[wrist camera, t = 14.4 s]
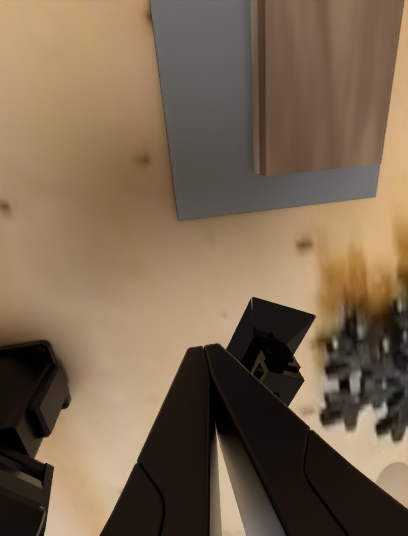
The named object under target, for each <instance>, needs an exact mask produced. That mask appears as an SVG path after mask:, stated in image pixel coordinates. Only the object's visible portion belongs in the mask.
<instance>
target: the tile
mask: <svg viewBox="0 0 408 536" xmlns="http://www.w3.org/2000/svg"><path fill="white" fill-rule="evenodd" d="M250 3H251V54H252V105H253V156H254V173H255V174H260V175H264V176H270V175H280V174H289V173H298V172H308V171H317V170H327V169H336V168H346V167H355V166H365V165H374V164H381V160H382V153H383V146H384V139H385V132H386V125H387V118H388V111H389V104H390V97H391V90H392V83H393V76H394V69H395V62H396V55H397V48H398V41H399V34H400V27H401V20H402V13H403V6H404V0H250Z"/></svg>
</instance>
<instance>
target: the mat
mask: <svg viewBox="0 0 408 536" xmlns="http://www.w3.org/2000/svg"><path fill="white" fill-rule="evenodd" d="M150 6H151V13H152V21H153V29H154V36H155V44H156V52H157V60H158V67H159V75H160V83H161V90H162V98H163V106H164V113H165V121H166V129H167V136H168V144H169V152H170V159H171V167H172V175H173V183H174V190H175V198H176V206H177V213H178V220H179V221H183V220H191V219H199V218H207V217H216V216H224V215H232V214H240V213H248V212H257V211H265V210H273V209H281V208H290V207H298V206H306V205H314V204H322V203H331V202H339V201H347V200H355V199H364V198H372V197H376V191H377V183H378V176H379V169H380V164H374V165H365V166H355V167H346V168H336V169H327V170H317V171H308V172H298V173H289V174H280V175H270V176H264V175H260V174H255V173H254V156H253V105H252V54H251V3H250V0H150Z"/></svg>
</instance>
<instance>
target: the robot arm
mask: <svg viewBox="0 0 408 536" xmlns="http://www.w3.org/2000/svg"><path fill="white" fill-rule="evenodd" d="M41 347H43V348H45V349H42V348H41ZM68 391H69V389H68V386H67V383H66V381H65V378H64V375H63V372H62V370H61V367H60V366H59V365H58V364H57V362H56V359H55V356H54V353H53V351H52V348H51V345H50V344H49V343H48V342H46V341H37V342H31V343H24V344H18V345H11V346H4V347H0V536H44V532H45V527H46V521H47V514H48V506H49V499H50V492H51V485H52V478H53V470H54V466H52V465H50V464H48V463H45V464H44V463H42V462H40V461H38V460H36V459H34V458H35V456H36V454H37V451H38V449H39V447H40V444H41V442H42V440H43V438H45V437H49V435H50V434H51V433H52V430H53V428H54V425H55V423H56V420H57V418H58V416H59V413H60V411H61V409H65V408H67V407H68V406H69V404H70V402H71V399H70V397H69V394H68ZM64 402H65V403H64ZM215 426H216V427H215ZM216 431H217V435H218V439H219V443H220V447H221V450H222V454H223V457H224V460H225V464H226V467H227V471H228V474H229V478H230V481H231V484H232V488H233V491H234V495H235V498H236V502H237V505H238V509H239V512H240V515H241V519H242V522H243V526H244V529H245V533H246V536H408V509H407V508H406V507H404V506H403V505H402V504H401V503H399V502H398V501H397V500H395V499H394V498H393V497H392V496H390V495H389V494H387V493H386V492H385V491H384V490H382V489H381V488H380V487H379V486H377V485H376V484H375V483H374V482H372V481H371V480H370V479H369V478H368V477H366V476H365V475H364V474H363V473H361V472H360V471H359V470H358V469H356V468H355V467H354V466H353V465H351V464H350V463H349V462H348V461H347V460H346V459H345V458H343V457H342V456H341V455H340V454H339V453H338V452H337V451H335V450H334V449H333V448H332V447H331V446H330V445H329V444H328V443H326V442H325V441H324V440H323V439H322V438H321V437H320V436H319V435H318V434H317V433H316V432H315V431H313V430H310V427H309V426H308V425H307V424H306V423H305V422H304V421H302V420H301V419H300V418H299V417H298V416H297V415H296V414H295V413H294V412H293V411H292V410H291V409H289V408H288V407H287V406H286V405H285V404H284V403H283V402H282V401H281V400H280V399H279V398H278V397H276V396H275V395H274V394H273V393H272V392H271V391H270V390H269V389H268V388H267V387H266V386H265V385H263V384H262V383H261V382H260V381H259V380H258V379H257V378H256V377H255V376H254V375H253V374H252V373H250V372H249V371H248V370H247V369H246V368H245V367H244V366H243V365H242V364H241V363H240V362H239V361H237V360H236V359H235V358H234V357H233V356H232V355H231V354H230V353H229V352H228V351H227V350H226V349H224V348H223V347H222V346H221V345H220V344H218V343H216V344H209V345H205V346H204V348H203V346H197V347H190V348H188V349H187V351H186V354H185V356H184V358H183V360H182V362H181V365H180V367H179V369H178V371H177V373H176V376H175V378H174V380H173V382H172V384H171V386H170V389H169V391H168V393H167V395H166V397H165V400H164V402H163V404H162V406H161V408H160V411H159V413H158V415H157V417H156V419H155V422H154V424H153V426H152V428H151V430H150V433H149V435H148V437H147V439H146V441H145V444H144V446H143V448H142V450H141V452H140V455H139V457H138V459H137V463H136V464H135V465H134V467H133V470H132V472H131V474H130V476H129V478H128V481H127V483H126V485H125V487H124V489H123V491H122V493H121V495H120V497H119V499H118V501H117V503H116V505H115V507H114V509H113V511H112V514H111V516H110V517H109V519H108V521H107V523H106V525H105V526H104V528H103V530H102V532H101V534H100V536H222V530H221V510H220V491H219V471H218V451H217V436H216Z"/></svg>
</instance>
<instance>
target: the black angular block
mask: <svg viewBox="0 0 408 536" xmlns="http://www.w3.org/2000/svg"><path fill="white" fill-rule="evenodd" d="M315 317H316V316H315V315H313V314H310V313H307V312H303V311H300V310H296V309H293V308H290V307H286V306H283V305H279V304H276V303H272V302H269V301H266V300H262V299H259V298H255V297H252V298H251V299H250V301H249V304H248V306H247V308H246V310H245V312H244V314H243V316H242V318H241V320H240V322H239V324H238V326H237V328H236V330H235V332H234V334H233V336H232V339H231V341H230V343H229V345H228V347H227V349H226V350H227V351H228V352H229V353H230V354H231V355H232V356H233V357H234V358H235V359H236V360H237V361H239V362H240V363H241V364H242V365H243V366H244V367H245V368H246V369H247V370H248V371H249V372H250V373H252V374H253V375H254V376H255V377H256V378H257V379H258V380H259V381H260V382H261V383H262V384H263V385H265V386H266V387H267V388H268V389H269V390H270V391H271V392H272V393H273V394H274V395H275V396H276V397H278V398H279V399H280V400H281V401H282V402H283V403H284V404H285V405H286V406H287V407H288V406H289V405H290V403H291V401H292V400H293V398H294V397H295V395H296V393H297V392H298V390H299V389H300V387H301V385H302V384H303V382H304V381H305V380H304V378H303V377H302V375H301V373H300V372H299V369H300V368H301V367H300V365H299V364H298V362H297V361H296V359H295V357H294V356H293V355H294V353H295V351H296V350H297V348H298V346H299V345H300V343H301V341H302V340H303V338H304V336H305V334H306V333H307V331H308V329H309V328H310V326H311V324H312V323H313V321H314V319H315Z"/></svg>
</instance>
